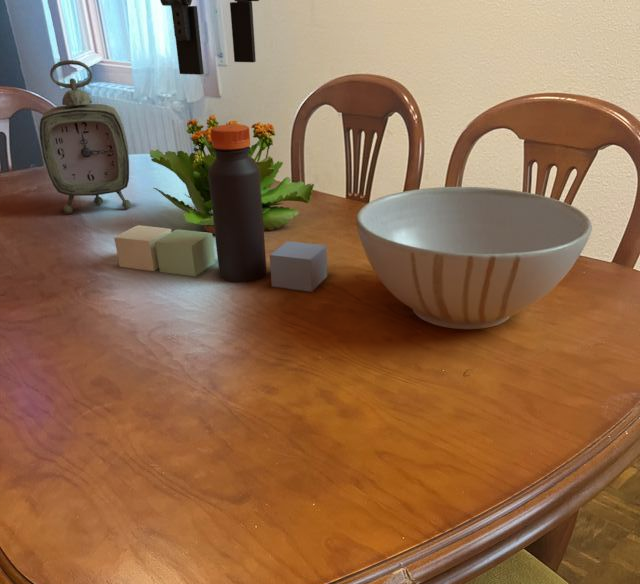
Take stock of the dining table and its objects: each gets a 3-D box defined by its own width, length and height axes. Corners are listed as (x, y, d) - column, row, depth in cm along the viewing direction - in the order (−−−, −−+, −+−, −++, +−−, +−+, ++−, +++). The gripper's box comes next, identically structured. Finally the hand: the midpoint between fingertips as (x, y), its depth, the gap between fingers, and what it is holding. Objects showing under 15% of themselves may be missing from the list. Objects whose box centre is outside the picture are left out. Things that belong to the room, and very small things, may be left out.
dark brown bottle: (275, 272, 96) (265, 124, 85) (252, 289, 91) (239, 133, 80) (235, 266, 99) (221, 121, 88) (211, 282, 94) (192, 131, 82)
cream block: (120, 269, 99) (113, 237, 96) (143, 256, 103) (137, 224, 100) (154, 274, 97) (148, 241, 94) (176, 260, 101) (171, 228, 99)
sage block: (160, 275, 96) (154, 241, 94) (181, 261, 101) (176, 229, 98) (196, 279, 95) (191, 245, 92) (216, 265, 99) (212, 232, 96)
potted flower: (241, 261, 100) (229, 138, 91) (126, 239, 110) (105, 126, 101) (321, 217, 118) (319, 111, 109) (216, 202, 128) (206, 103, 119)
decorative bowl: (451, 385, 68) (463, 274, 62) (316, 300, 87) (313, 208, 81) (619, 323, 80) (644, 223, 73) (467, 260, 99) (476, 176, 92)
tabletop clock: (57, 217, 122) (20, 64, 108) (61, 204, 129) (27, 59, 115) (137, 210, 124) (111, 60, 110) (137, 198, 132) (112, 56, 118)
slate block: (271, 290, 91) (269, 254, 88) (288, 274, 95) (287, 240, 93) (312, 295, 89) (310, 259, 86) (327, 279, 94) (327, 245, 91)
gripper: (165, -192, 57) (195, 81, 69) (281, -150, 76) (288, 58, 88) (94, -184, 60) (135, 79, 71) (224, -145, 79) (238, 57, 91)
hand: (220, 68), depth 80 cm, fingers open, 13 cm apart
